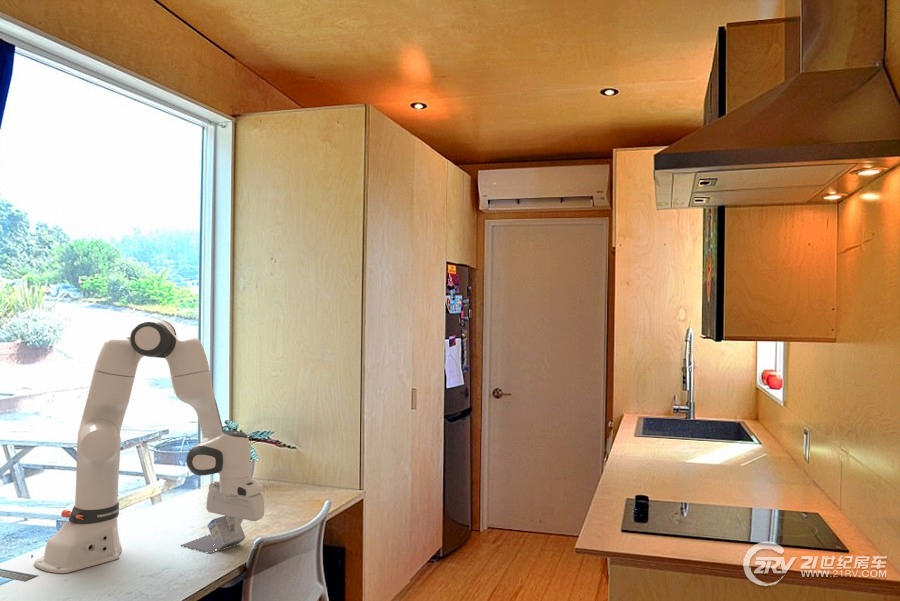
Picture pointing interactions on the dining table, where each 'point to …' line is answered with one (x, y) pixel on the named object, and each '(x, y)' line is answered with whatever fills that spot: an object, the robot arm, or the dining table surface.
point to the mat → (202, 544)
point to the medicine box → (224, 533)
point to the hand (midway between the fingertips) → (234, 530)
